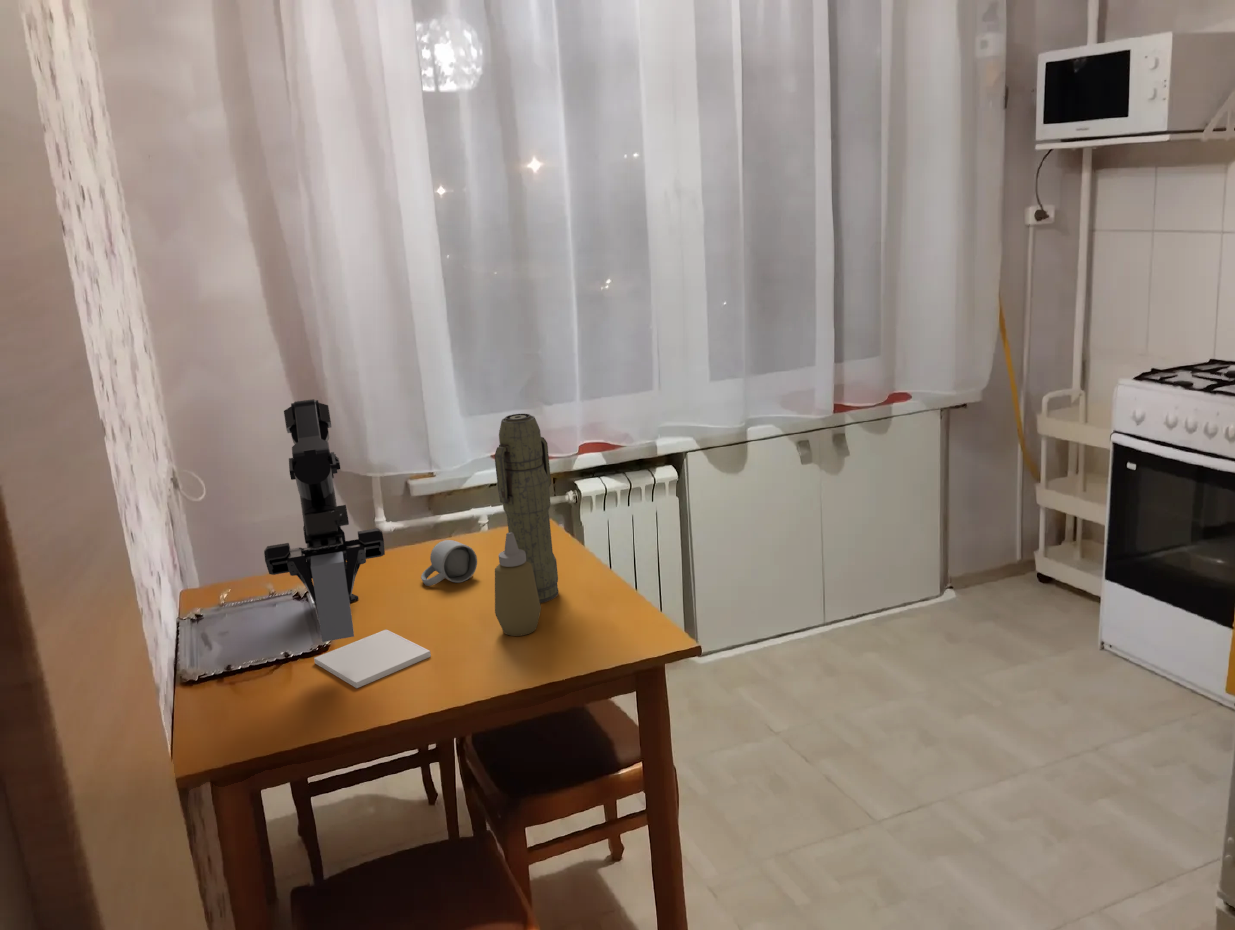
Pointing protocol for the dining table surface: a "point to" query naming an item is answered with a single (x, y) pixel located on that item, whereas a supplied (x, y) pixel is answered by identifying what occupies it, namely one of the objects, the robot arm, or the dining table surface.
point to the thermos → (527, 496)
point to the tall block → (332, 596)
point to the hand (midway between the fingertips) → (332, 598)
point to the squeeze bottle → (515, 591)
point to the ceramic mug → (450, 563)
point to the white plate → (372, 658)
